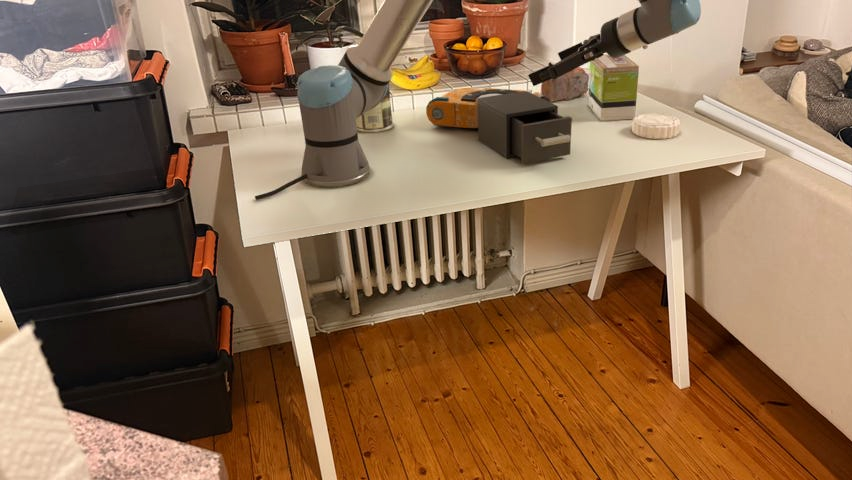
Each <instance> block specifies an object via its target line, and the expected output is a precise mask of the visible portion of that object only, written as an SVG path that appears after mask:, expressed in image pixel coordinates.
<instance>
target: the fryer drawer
mask: <svg viewBox="0 0 852 480" xmlns="http://www.w3.org/2000/svg"><path fill="white" fill-rule="evenodd" d="M572 120H573V117H571V116H565V117H563V116H562V115H560V114H559V113H558V114H556V113H554V112H552V111H545V112H539V113H533V114H527V115H521V116H515V117H510V151H511V152H512V153H514V154H515V155H517V156H518V158H520V163H521V164H529V163H534V162H540V161H545V160H549V159H555V158H560V157H566V156H571V143H572V142H571V141H572V122H573V121H572Z"/></svg>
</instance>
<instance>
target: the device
mask: <svg viewBox="0 0 852 480" xmlns="http://www.w3.org/2000/svg"><path fill="white" fill-rule="evenodd" d="M522 91H525V90H522V89H508V88H506V89H505V88H494V87H493V88H492V87H485V88H469V87H468V88H466V87H464V88H457V89H453V90H450V91H449V92H447V93H444V94H442V95H441V96H437V97H434V98H433V99H431V100H430V101H428V103H427V105H426V107H425V110H426V111H425V113H426V116H427V119H428V121H429V122H430V123H432V125H433V126H436V127H440V128H450V127H453V128H464V129H465V128H466V129H478V103H477V98H482V97H489V96H496V95H502V94H509V93H515V92H522ZM526 91H527V92H529V93H531V94H533V95H536V96H538V97H540V98H542V99H544V100H546V101H548V102H550V100H549V98H547V97H544V96H543V95H542V94H541V93H539V92H537V91H534V93H533V90H532V89H527V90H526ZM550 103H551V102H550Z"/></svg>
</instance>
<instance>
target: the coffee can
mask: <svg viewBox="0 0 852 480" xmlns="http://www.w3.org/2000/svg"><path fill="white" fill-rule="evenodd" d="M356 123H357V131H358V132H363V133H379V132H380V133H381V132H385V131H387V130H390V129H392V128H393V127H394V123H393V114H392V104H391V91H390V82H389V83H388V88H387V92H386V94H385V96H384V98H383V99H382V101H381V102H380V103H379V104H378V105H377V106H375V107H374V108H373V109H370V110H368V111H367V112H365V113H364V114H362V115H361V116H359V117H358V118H356Z"/></svg>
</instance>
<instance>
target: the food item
mask: <svg viewBox="0 0 852 480" xmlns="http://www.w3.org/2000/svg"><path fill="white" fill-rule="evenodd" d="M588 92H589V75H588V73H587V72H586V71H585V69H584V68H583V67H581V66H580V67H578V68H576V69H574V70H572V71H570V72H568V73H566V74H564V75H562V76H560V77H558V78H557V79H554V80H553V79H550V80H547V81H545V82H543V83H541V84H540V94H542V95H543V96H544V97H547V98H549V100H550V103H554V102H559V101H562V100H566V101H570V100H572V99H574V98H579V97H582V96H584V95H585V94H587V93H588Z"/></svg>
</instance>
